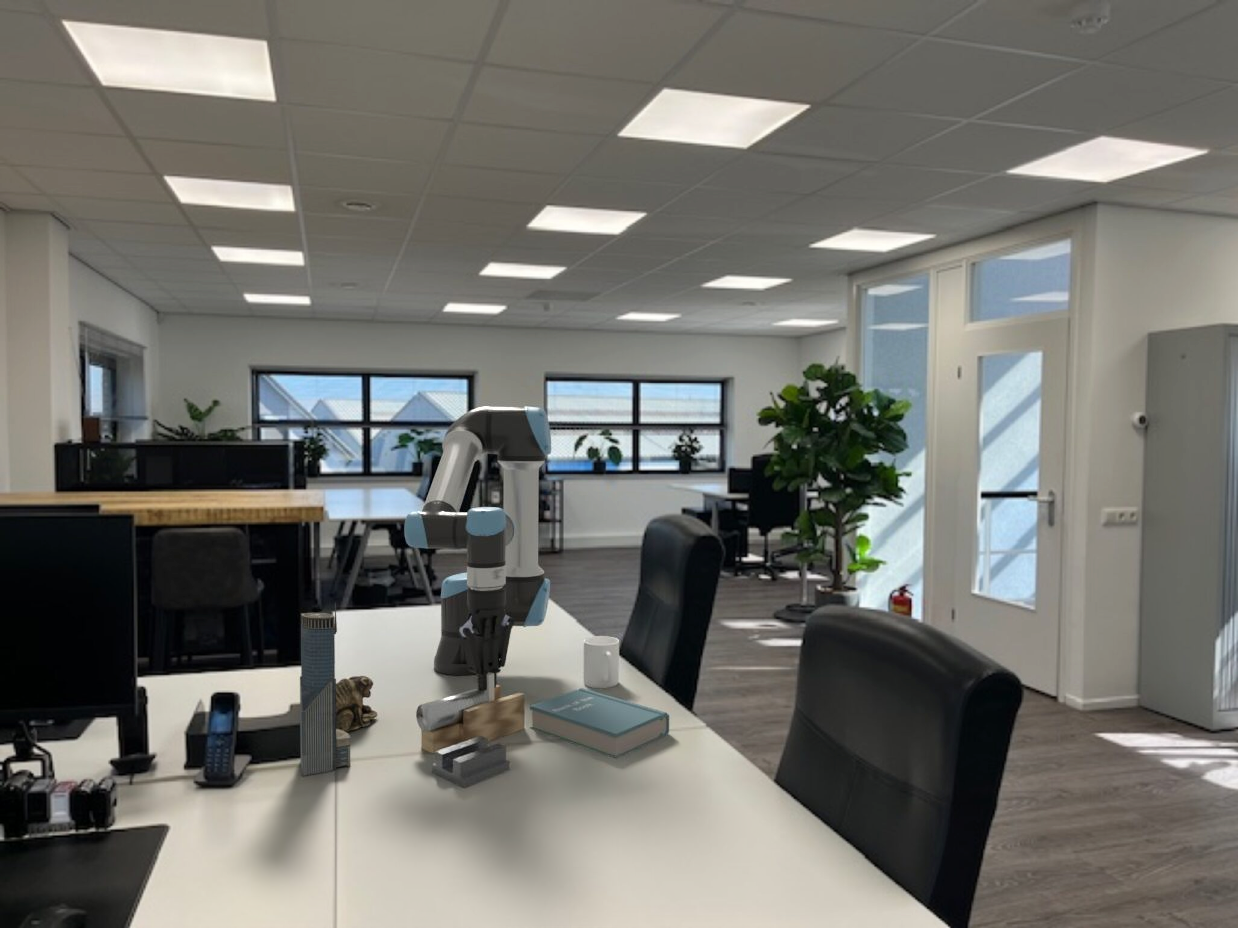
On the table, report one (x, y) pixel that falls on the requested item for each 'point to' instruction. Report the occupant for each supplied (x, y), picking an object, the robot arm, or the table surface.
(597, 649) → the cup
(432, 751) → the beam
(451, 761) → the v block
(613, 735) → the book
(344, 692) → the figurine
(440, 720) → the axle
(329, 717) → the building
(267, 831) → the table surface
